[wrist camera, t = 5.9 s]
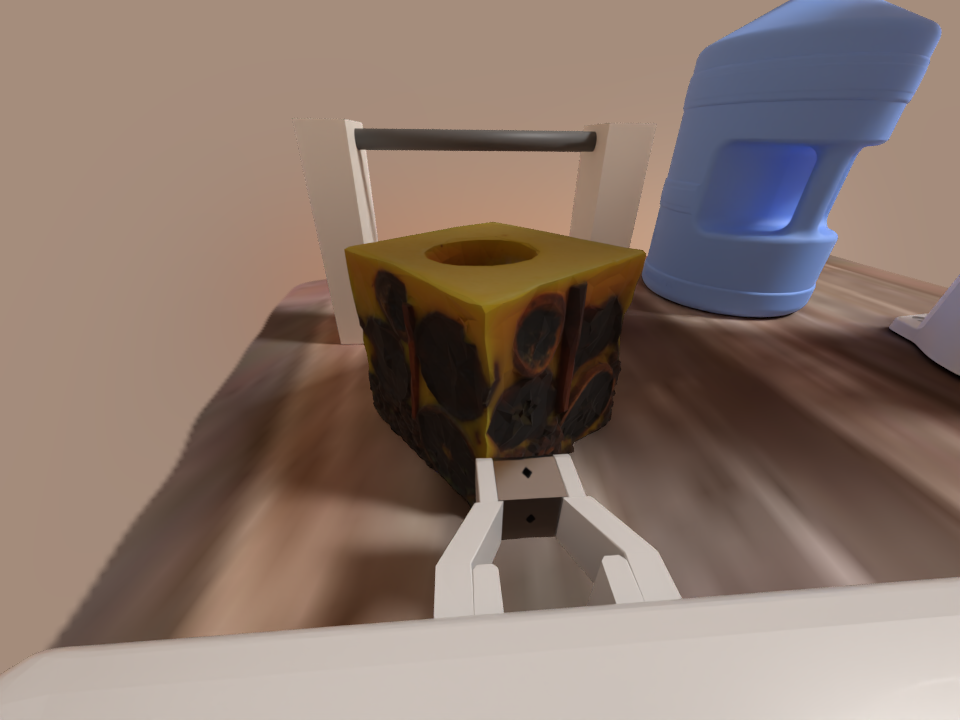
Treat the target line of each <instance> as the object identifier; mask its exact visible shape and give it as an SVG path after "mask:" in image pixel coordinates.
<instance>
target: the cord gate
mask: <svg viewBox="0 0 960 720" xmlns="http://www.w3.org/2000/svg"><path fill="white" fill-rule="evenodd" d="M292 121H293V126H294V131H295V135H296V140H297V144H298V149H299V153H300V158H301V162H302V167H303V172H304V176H305V181H306V186H307V190H308V195H309V199H310V204H311V208H312V213H313V218H314V222H315V227H316V231H317V236H318V240H319V245H320V250H321V254H322V259H323V263H324V268H325V273H326V277H327V282H328V286H329V291H330V296H331V300H332V305H333V309H334V314H335V318H336V323H337V328H338V332H339V337H340V341H341V344H364V342H363V329H362V328H361V326H360V324H359V318H358V315H357V311H356V307H355V303H354V299H353V294H352V290H351V285H350V280H349V275H348V270H347V264H346V258H345V252H344V249H346V248H347V247H349V246H354V245H360V244H366V243H372V242H378V236H377V229H376V222H375V214H374V207H373V199H372V192H371V184H370V177H369V170H368V162H367V155H366V150H444V151H446V150H448V151H449V150H450V151H557V152H566V151H567V152H581V153H580V160H579V168H578V175H577V182H576V190H575V198H574V205H573V213H572V220H571V227H570V236H569V237H574V238H579V239H584V240H589V241H594V242H600V243H605V244H610V245H615V246H620V247H625V248H629V247H630V243H631V238H632V233H633V229H634V224H635V220H636V216H637V211H638V206H639V202H640V197H641V193H642V188H643V184H644V179H645V175H646V170H647V166H648V161H649V157H650V152H651V147H652V143H653V139H654V134H655V130H656V125H657V124H649V123H648V124H647V123H605V124H597V125H587V126H584V131H517V130H516V131H514V130H510V131H509V130H440V129H432V130H431V129H363V125H362V123H361V122H356V121H352V120H347V119H309V118H307V119H306V118H301V119H300V118H292Z"/></svg>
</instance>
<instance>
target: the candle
mask: <svg viewBox="0 0 960 720" xmlns="http://www.w3.org/2000/svg"><path fill="white" fill-rule="evenodd" d="M344 252H345V258H346V264H347V270H348V275H349V280H350V285H351V290H352V294H353V299H354V303H355V307H356V311H357V315H358V318H359V324H360V326H361V328H362V329H363V342H364V345H365V349H366V352H367V357H368V363H369V381H370V389H371V390H372V392H373V400H374V406H375V408H376V410H377V412H378V413H379V414H380V416H381V417H382V419H383V420H384V421H386V422H387V423H389V424H390V426H391V429H392V430H393V431H394V432H395V433H396V434H398V435H400V436H402V437H403V440H404V441H405V442H406V443H408V445H409V446H410V447H411V448H412V449H414V450H415V451H416V452H417V454H418V455H419V456H420V457H421V458H422V459H424V460H425V461H426V462H427V466H429V467H431V468H433V469H435V470H436V471H437V472H438V473H439V474H440V475H441V476H442V477H443V478H445V479H446V481H447V482H448V483H449V484H450V485H451V486H452V487H453V488H454V489H455V490H456V491H457V492H458V493H459V494H460V495H461V496H462V497H463V498H464V499H466V500H467V501H468V503H469V505H470V507H471V508H472V506H473V505H474V503H476V484H475V472H476V458H501V457H524V456H540V455H558V454H568V453H572V452H574V448H573V446H572V445H573V443H574V442H575V441H577V440H578V439H580V438H582V437H584V436H586V435H587V434H589V433H591V432H594V431H596V430H598V429H600V428H601V427H603V426H605V425H606V423H607V422H609V421H610V419H611V411H612V409H611V408H612V406H613V401H612V396H614V395H615V391H614V387H615V385H616V384H617V383H616V382H617V380H618V374H619V372H620V371H621V368H620V363H621V362H620V361H619V349H620V334H621V330H622V324H623V318H624V314H625V312H626V311H627V309H628V307H629V306H630V304H631V302H632V298H633V294H634V290H635V287H636V284H637V282H638V279H639V277H640V274H641V272H642V270H643V267H644V262H645V257H646V253H645V252H644V251H643V250H638V249H631V248H625V247H620V246H615V245H610V244H605V243H600V242H594V241H589V240H584V239H579V238H574V237H569V236H564V235H559V234H554V233H549V232H544V231H539V230H534V229H529V228H524V227H518V226H513V225H507V224H502V223H496V222H490V223H482V224H475V225H468V226H460V227H454V228H449V229H443V230H438V231H433V232H427V233H422V234H416V235H411V236H406V237H400V238H395V239H389V240H384V241H378V242H372V243H366V244H360V245H354V246H349V247H347V248H346V249H344Z"/></svg>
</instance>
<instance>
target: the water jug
mask: <svg viewBox="0 0 960 720" xmlns="http://www.w3.org/2000/svg"><path fill="white" fill-rule="evenodd" d="M940 37H941V28H940V26H939V25H938V24H937V23H936V22H934V21H932V20H929V19H927V18H925V17H922V16H920V15H918V14H915V13H913V12H910V11H908V10H906V9H903V8H901V7H898V6H896V5H894V4H891V3H889V2H886V1H884V0H790V1H788V2H786V3H784V4H782V5H781V6H779V7H777V8H775V9H773V10H772V11H770V12H768V13H766V14H764V15H763V16H761V17H759V18H757V19H755V20H754V21H752V22H750V23H748V24H747V25H745V26H743V27H741V28H740V29H738V30H736V31H734V32H732V33H731V34H729V35H727V36H725V37H723V38H722V39H720V40H718V41H716V42H715V43H713V44H711V45H709V46H708V47H706V48H705V49H704V50H703V51H702V52H701V53H700V55H699V57H698V59H697V62H696V66H695V70H694V74H693V76H692V78H691V80H690V84H689V86H688V90H687V95H686V98H685V103H684V108H683V109H684V114H683V117H682V121H681V126H680V130H679V134H678V137H677V141H676V145H675V149H674V153H673V157H672V161H671V165H670V169H669V173H668V177H667V178H666V180H665V184H664V187H663V191H662V195H661V201H660V209H659V213H658V217H657V221H656V225H655V229H654V233H653V237H652V241H651V246H650V249H649V253H648V257H647V258H646V260H645V263H644V267H643V271H642V278H643V281H644V283H645V284H646V286H647V287H648V288H649V289H650V290H652V291H653V292H655V293H656V294H658V295H660V296H662V297H664V298H666V299H668V300H670V301H673V302H676V303H678V304H681V305H684V306H688V307H691V308H695V309H699V310H703V311H708V312H713V313H718V314H724V315H732V316H742V317H775V316H782V315H787V314H790V313H793V312H796V311H798V310H799V309H801V308H802V307H804V306H805V305H806V304H807V302H808V300H809V299H810V297H811V295H812V293H813V291H814V289H815V286H816V281H817V279H818V277H819V275H820V273H821V271H822V269H823V267H824V265H825V263H826V261H827V259H828V257H829V255H830V253H831V251H832V249H833V247H834V245H835V243H836V241H837V239H838V235H837V233H836V232H834V231H833V230H831V229H829V228H828V227H827V217H828V214H829V212H830V210H831V208H832V206H833V204H834V202H835V200H836V197H837V195H838V193H839V191H840V189H841V187H842V185H843V183H844V181H845V179H846V177H847V175H848V172H849V171H850V168H851V166H852V164H853V162H854V160H855V158H856V156H857V155H858V153H859V152H860V151H861V149H862V148H864V147H866V146H875V145H880V144H883V143H885V142H886V141H887V140H889V138H890V136H891V134H892V132H893V130H894V128H895V126H896V124H897V122H898V120H899V118H900V116H901V114H902V112H903V110H904V108H905V106H906V104H908V103H909V102H910V101H911V99H912V97H913V95H914V94H915V92H916V90H917V88H918V86H919V84H920V82H921V80H922V79H923V76H924V74H925V73H926V70H927V67H928V65H929V63H930V57H931V55H932V53H933V51H934V49H935V47H936V45H937V43H938V41H939V39H940Z"/></svg>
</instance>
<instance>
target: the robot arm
mask: <svg viewBox="0 0 960 720" xmlns="http://www.w3.org/2000/svg"><path fill="white" fill-rule="evenodd" d="M889 328H890V329H891V330H893V331H894V332H896V333H898V334H899V335H901V336H903V337H905V338H907V339H909V340H911V341H912V342H914V343H915V344H916V345H917V346H918V347H919V348H920V349H921V350H922V351H923V352H924V353H925V354H926V355H927V356H928V357H929V358H931V359H932V360H934V361H935V362H936V363H938V364H940V365H941V366H943V367H945V368H946V369H948V370H950V371H952V372H954V373H956V374H957V375H959V376H960V275H959V276H958V277H957V278H956V280H955V281H954V282H953V283H952V285H951V286H950V287H949V288H948V290H947V291H946V292H945V294H944V295H943V296H942V297H941V299H940V300H939V301H938V302H937V304H936V305H935V306H934V307H933V309H932V310H931V311H930V312H929V313H928V314H918V315H909V316H900V317H897V318H896V319H895V320H894V321H893V322H892V324H891V325H890V326H889ZM475 484H476V503H474V505H473V506H472V508H471V510H470V511H469V513H468V514H467V516H466V518H465V519H464V521H463V523H462V524H461V526H460V527H459V529H458V531H457V532H456V534H455V536H454V537H453V539H452V540H451V542H450V544H449V545H448V547H447V549H446V550H445V552H444V553H443V555H442V557H441V558H440V560H439V562H438V563H437V565H436V571H435V598H434V618H432V619H420V620H407V621H394V622H382V623H369V624H357V625H344V626H331V627H319V628H306V629H293V630H280V631H268V632H255V633H242V634H229V635H217V636H204V637H191V638H178V639H165V640H152V641H140V642H127V643H114V644H101V645H87V646H73V647H61V648H52V649H48V650H44V651H40V652H38V653H35V654H33V655H31V656H29V657H27V658H26V659H24V660H22V661H21V662H19V663H17V664H16V665H14V666H12V667H11V668H9V669H8V670H6V671H4V672H3V673H1V674H0V720H960V577H950V578H938V579H925V580H913V581H900V582H887V583H875V584H862V585H850V586H837V587H824V588H812V589H799V590H787V591H774V592H761V593H749V594H736V595H724V596H711V597H698V598H686V599H682V598H681V596H680V594H679V592H678V590H677V588H676V586H675V584H674V582H673V580H672V578H671V576H670V574H669V572H668V570H667V568H666V566H665V564H664V562H663V560H662V558H661V556H660V554H659V552H658V551H657V550H656V549H655V548H653V547H652V546H651V545H650V544H648V543H647V542H646V541H645V540H644V539H642V538H641V537H640V536H639V535H638V534H636V533H635V532H634V531H633V530H632V529H630V528H629V527H628V526H627V525H625V524H624V523H623V522H622V521H621V520H619V519H618V518H617V517H616V516H615V515H613V514H612V513H611V512H610V511H608V510H607V509H606V508H605V507H604V506H602V505H601V504H600V503H599V502H598V501H596V500H595V499H594V498H593V497H591V496H586V494H585V492H584V489H583V487H582V484H581V482H580V479H579V476H578V474H577V471H576V469H575V466H574V464H573V461H572V459H571V456H570V455H569V454H558V455H540V456H524V457H501V458H476V472H475ZM529 537H556V539H557V540H558V541H559V543H560V544H561V545H562V546H563V547H564V549H565V550H566V551H567V552H568V553H569V554H570V556H571V557H572V558H573V559H574V560H575V562H576V563H577V564H578V565H579V566H580V567H581V569H582V570H583V571H584V572H585V573H586V575H587V576H588V577H589V578H590V579H591V580H592V582H593V583H594V586H593V589H592V592H591V595H590V598H589V601H588V604H587V606H583V607H571V608H558V609H546V610H533V611H521V612H508V613H504V611H503V603H502V595H501V587H500V579H499V571H498V568H497V567H496V566H495V565H493V564H492V562H493V559H494V557H495V555H496V553H497V550H498V548H499V546H500V543H501V540H507V539H518V538H529Z"/></svg>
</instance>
